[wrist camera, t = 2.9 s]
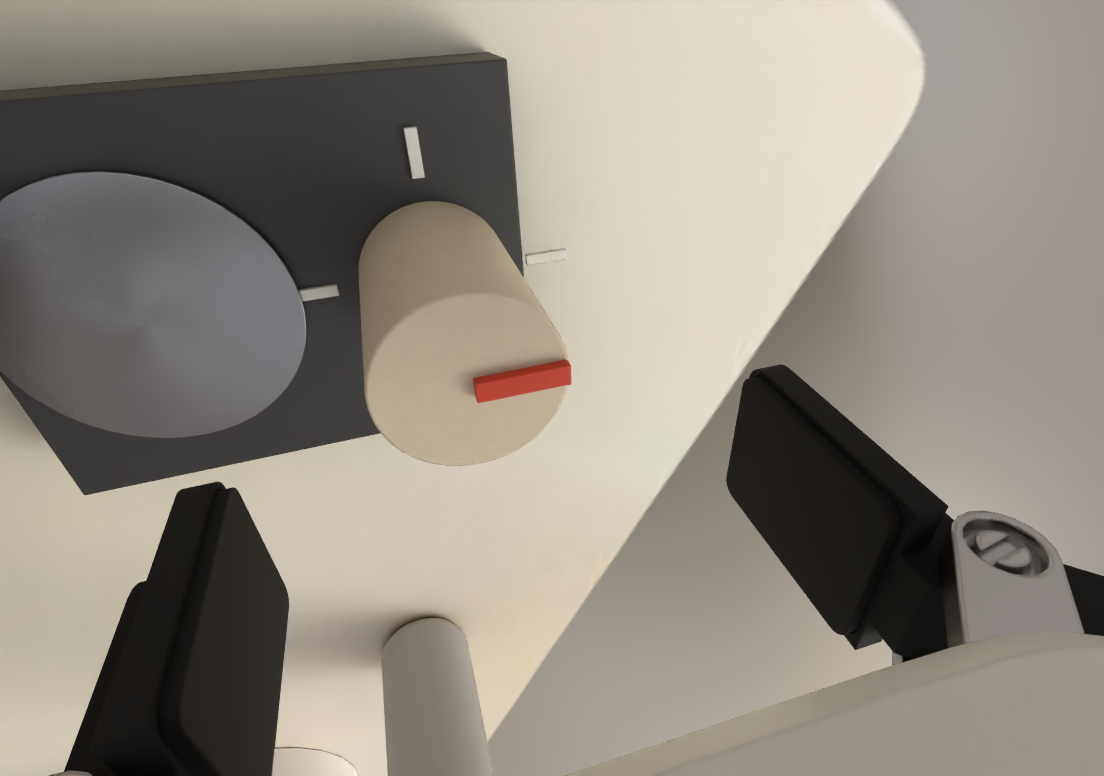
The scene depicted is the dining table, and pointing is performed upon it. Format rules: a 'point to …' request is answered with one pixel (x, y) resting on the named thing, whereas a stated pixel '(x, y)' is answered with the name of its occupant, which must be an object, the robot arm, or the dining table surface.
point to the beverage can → (432, 703)
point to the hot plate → (279, 210)
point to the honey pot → (309, 763)
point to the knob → (454, 339)
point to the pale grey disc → (143, 305)
